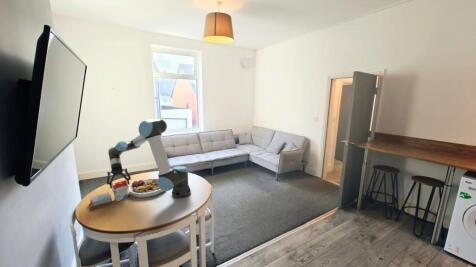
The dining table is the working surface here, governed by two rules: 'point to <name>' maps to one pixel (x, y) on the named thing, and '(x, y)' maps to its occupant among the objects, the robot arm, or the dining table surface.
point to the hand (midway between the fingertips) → (120, 189)
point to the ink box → (120, 190)
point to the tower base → (101, 204)
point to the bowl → (145, 188)
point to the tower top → (100, 199)
